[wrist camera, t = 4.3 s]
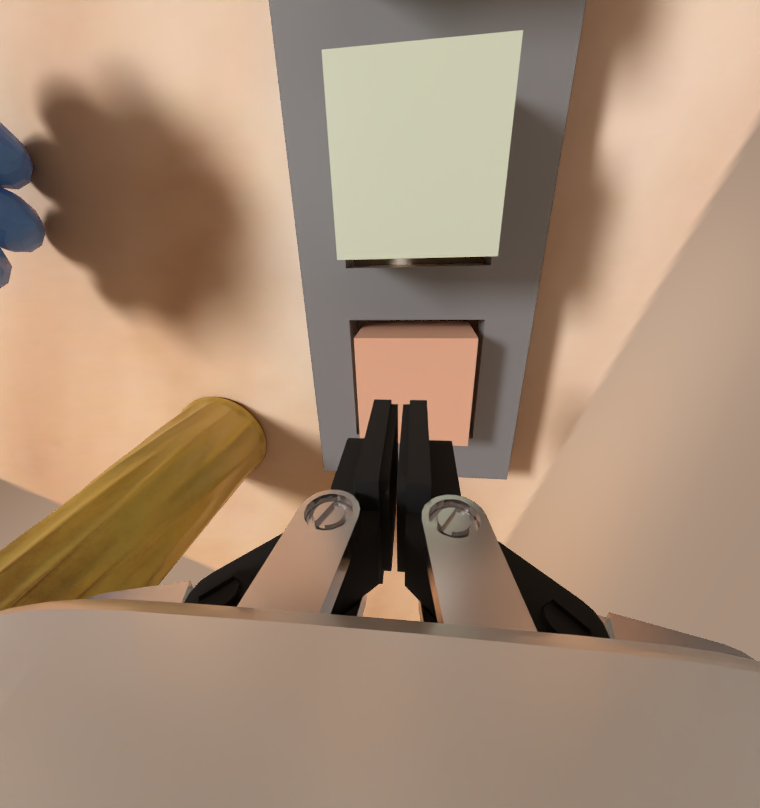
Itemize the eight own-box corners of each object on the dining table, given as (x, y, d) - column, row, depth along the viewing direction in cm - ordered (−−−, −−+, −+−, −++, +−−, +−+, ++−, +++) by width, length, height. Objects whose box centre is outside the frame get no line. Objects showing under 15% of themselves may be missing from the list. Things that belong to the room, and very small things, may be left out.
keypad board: (244, -395, 10) (198, -560, 8) (643, -497, 9) (710, -724, 7) (332, 452, 23) (323, 473, 21) (499, 459, 22) (507, 482, 20)
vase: (276, 417, 22) (76, 655, 9) (257, 483, 25) (81, 740, 12) (187, 381, 22) (-150, 578, 9) (177, 453, 24) (-93, 685, 12)
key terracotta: (365, 321, 19) (353, 338, 16) (468, 321, 18) (478, 338, 15) (369, 411, 21) (360, 442, 18) (460, 414, 21) (467, 446, 17)
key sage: (346, 98, 13) (321, 49, 10) (496, 86, 12) (523, 30, 9) (354, 256, 15) (337, 260, 12) (481, 253, 15) (497, 255, 11)
